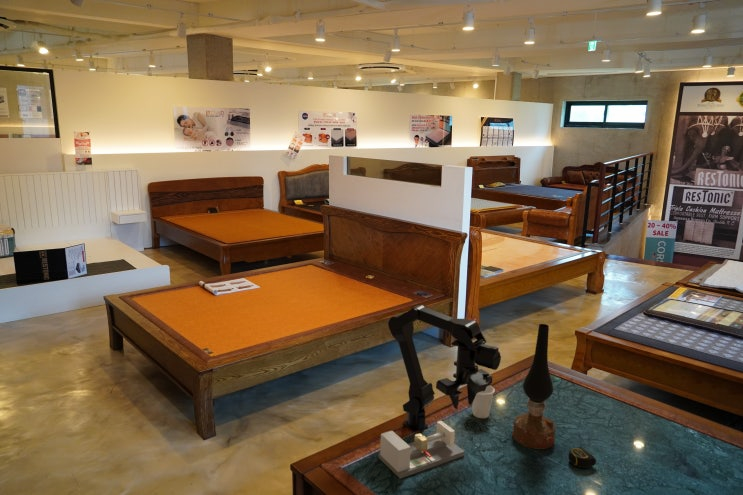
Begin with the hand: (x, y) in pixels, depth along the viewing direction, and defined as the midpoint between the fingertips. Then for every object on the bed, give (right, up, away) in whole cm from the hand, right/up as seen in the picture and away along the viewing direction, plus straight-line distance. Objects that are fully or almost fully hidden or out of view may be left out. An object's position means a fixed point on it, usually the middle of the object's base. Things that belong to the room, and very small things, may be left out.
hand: (463, 406), depth 175 cm
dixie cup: (+10, -9, +21) cm, 25 cm away
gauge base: (-14, -14, -5) cm, 20 cm away
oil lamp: (+24, -13, +7) cm, 28 cm away
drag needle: (-13, -12, -7) cm, 19 cm away
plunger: (-9, -11, -3) cm, 14 cm away
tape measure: (+35, -16, -6) cm, 39 cm away
